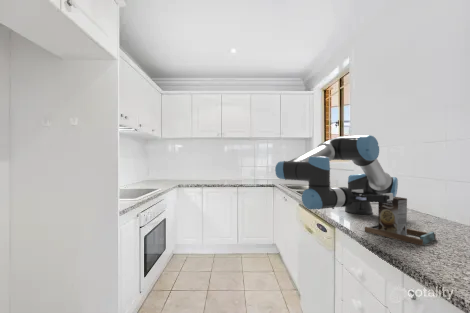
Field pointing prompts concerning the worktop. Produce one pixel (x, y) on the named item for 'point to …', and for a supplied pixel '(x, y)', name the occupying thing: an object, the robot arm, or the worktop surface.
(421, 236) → the rectangular frame
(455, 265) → the worktop surface
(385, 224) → the coffee box
